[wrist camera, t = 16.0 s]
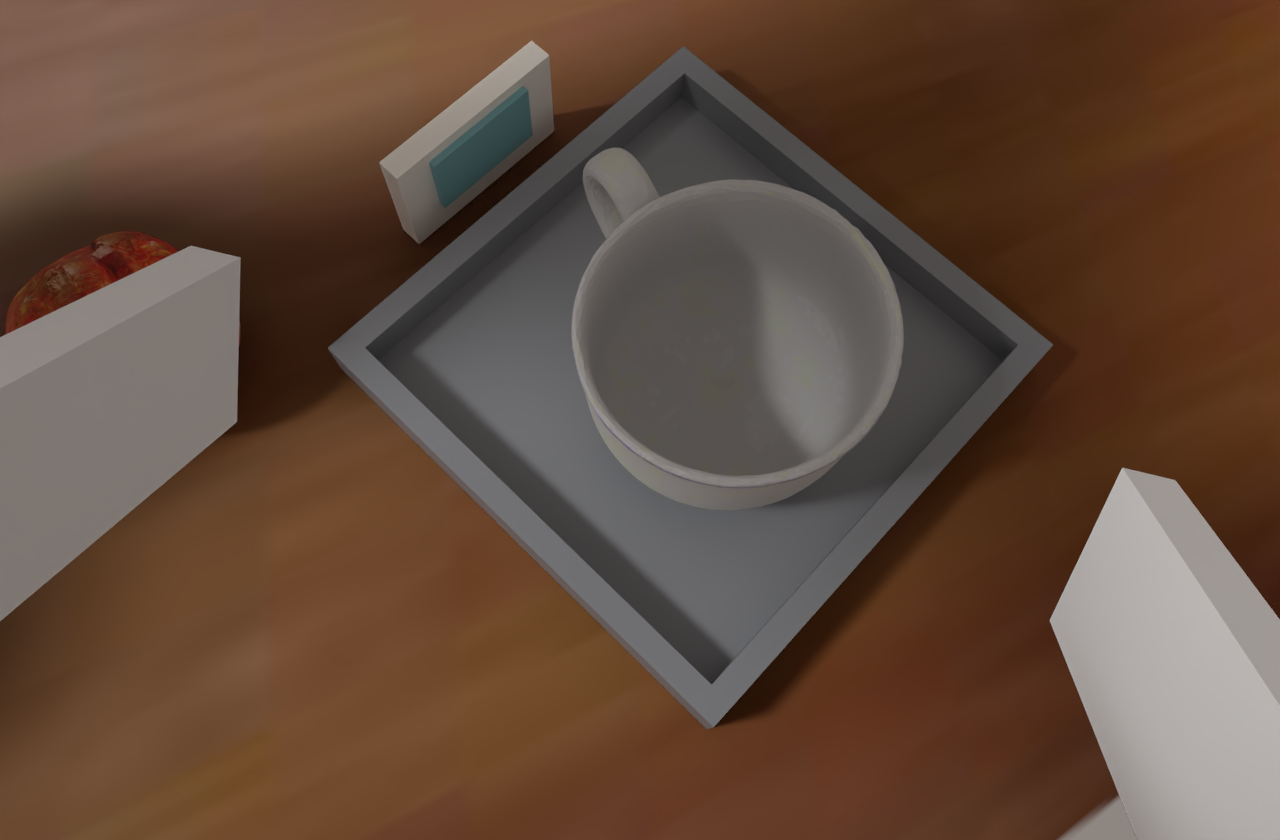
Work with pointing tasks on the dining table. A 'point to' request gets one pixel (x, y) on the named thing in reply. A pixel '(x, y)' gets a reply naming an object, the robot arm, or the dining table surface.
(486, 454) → the tray
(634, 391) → the teacup
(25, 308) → the pomegranate
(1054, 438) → the dining table surface
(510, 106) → the tag
